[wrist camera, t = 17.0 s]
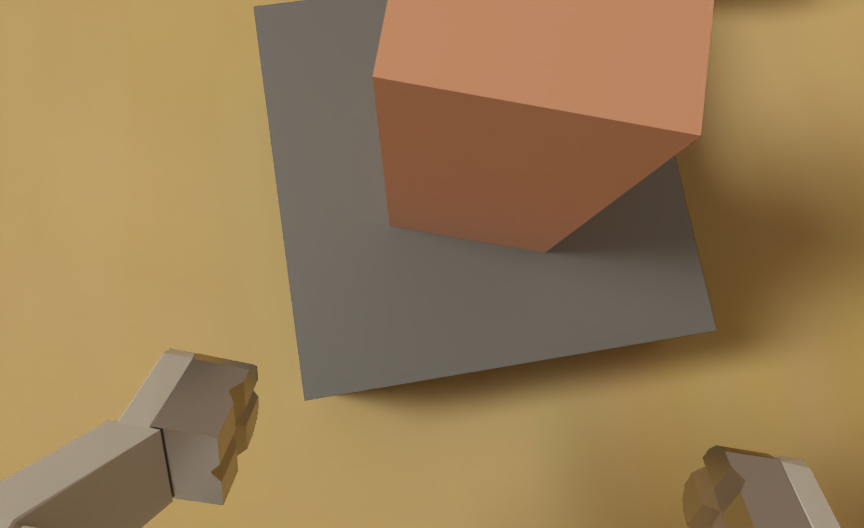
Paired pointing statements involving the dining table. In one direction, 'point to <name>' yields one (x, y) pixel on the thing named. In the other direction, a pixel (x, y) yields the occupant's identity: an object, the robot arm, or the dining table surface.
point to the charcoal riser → (441, 239)
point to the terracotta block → (532, 109)
